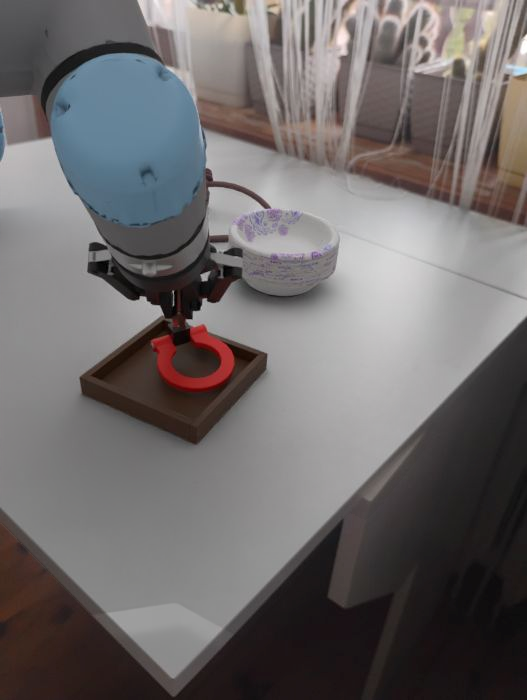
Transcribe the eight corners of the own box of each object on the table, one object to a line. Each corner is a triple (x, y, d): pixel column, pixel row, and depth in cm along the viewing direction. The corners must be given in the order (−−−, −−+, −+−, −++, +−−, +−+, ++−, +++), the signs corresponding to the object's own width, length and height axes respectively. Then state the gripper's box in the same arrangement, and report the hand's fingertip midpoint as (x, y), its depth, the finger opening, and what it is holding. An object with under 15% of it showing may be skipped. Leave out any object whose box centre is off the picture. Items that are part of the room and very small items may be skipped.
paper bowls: (285, 321, 81) (291, 266, 76) (204, 278, 89) (205, 226, 84) (354, 282, 90) (362, 232, 86) (275, 247, 98) (279, 198, 94)
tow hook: (247, 380, 69) (208, 328, 74) (258, 287, 60) (213, 236, 65) (177, 405, 65) (142, 349, 70) (177, 310, 56) (136, 254, 62)
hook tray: (81, 393, 67) (79, 376, 65) (162, 330, 77) (162, 314, 76) (196, 444, 62) (196, 427, 60) (266, 369, 72) (267, 353, 71)
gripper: (50, 275, 44) (110, 338, 67) (256, 283, 45) (245, 343, 68) (58, 176, 46) (114, 271, 69) (258, 185, 46) (247, 276, 70)
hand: (179, 306), depth 68 cm, fingers closed on tow hook, 1 cm apart
